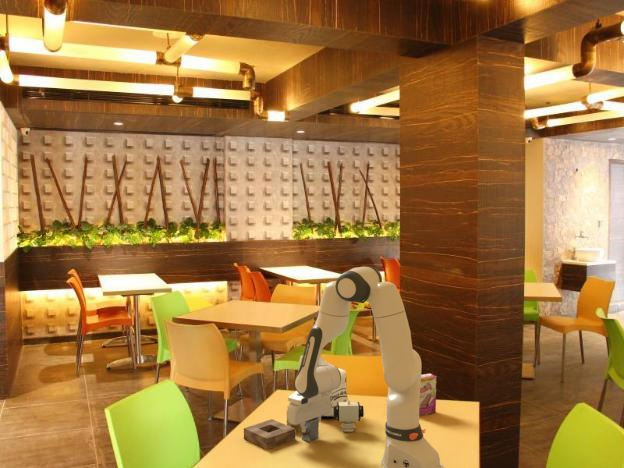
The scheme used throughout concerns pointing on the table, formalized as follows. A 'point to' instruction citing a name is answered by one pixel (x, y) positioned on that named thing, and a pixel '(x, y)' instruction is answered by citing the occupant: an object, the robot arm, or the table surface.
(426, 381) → the candy bar box
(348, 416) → the pneumatic valve
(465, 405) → the table surface
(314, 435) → the square bit
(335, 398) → the milk container
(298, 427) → the cross bit
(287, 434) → the block
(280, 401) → the table surface
